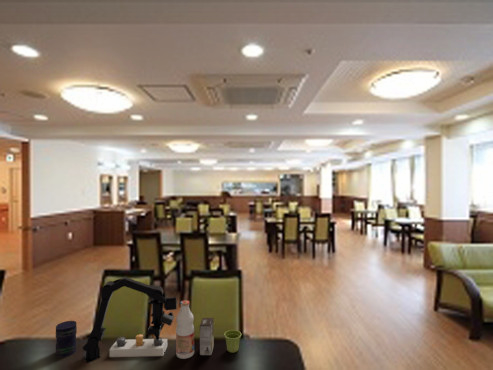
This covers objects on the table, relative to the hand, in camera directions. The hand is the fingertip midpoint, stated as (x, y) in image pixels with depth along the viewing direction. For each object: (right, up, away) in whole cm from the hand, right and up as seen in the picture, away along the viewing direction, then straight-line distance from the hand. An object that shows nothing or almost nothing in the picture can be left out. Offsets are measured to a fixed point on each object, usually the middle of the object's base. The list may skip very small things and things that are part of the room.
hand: (157, 339), depth 163 cm
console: (-10, -6, 0) cm, 12 cm away
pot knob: (-10, -3, 0) cm, 10 cm away
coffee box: (+27, -6, 0) cm, 28 cm away
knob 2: (0, -3, 0) cm, 3 cm away
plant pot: (+41, -6, +1) cm, 42 cm away
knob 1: (-20, -3, -1) cm, 20 cm away
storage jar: (-50, -7, -1) cm, 50 cm away
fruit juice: (+16, -6, -3) cm, 17 cm away
